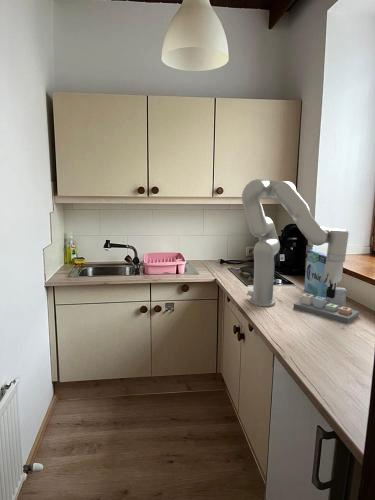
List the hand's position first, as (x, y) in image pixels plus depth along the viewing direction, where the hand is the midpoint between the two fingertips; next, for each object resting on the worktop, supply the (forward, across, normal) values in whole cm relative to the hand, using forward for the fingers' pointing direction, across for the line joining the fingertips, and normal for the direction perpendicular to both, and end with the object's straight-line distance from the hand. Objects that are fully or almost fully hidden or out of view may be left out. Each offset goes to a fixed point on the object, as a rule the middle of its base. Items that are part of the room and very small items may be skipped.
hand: (330, 297), depth 153 cm
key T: (+6, 0, -5) cm, 7 cm away
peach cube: (+7, 0, +7) cm, 10 cm away
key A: (+8, 0, +1) cm, 8 cm away
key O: (+6, 0, -10) cm, 12 cm away
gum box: (+8, -22, -16) cm, 29 cm away
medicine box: (+8, -14, -2) cm, 16 cm away
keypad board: (+8, 0, -2) cm, 8 cm away
